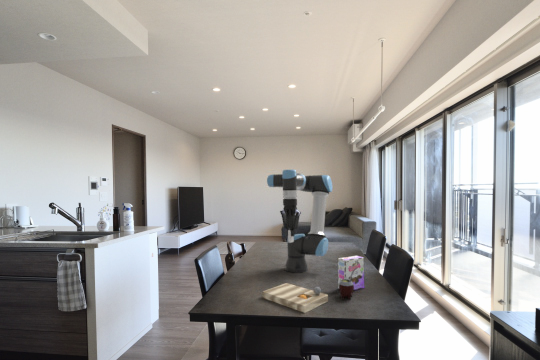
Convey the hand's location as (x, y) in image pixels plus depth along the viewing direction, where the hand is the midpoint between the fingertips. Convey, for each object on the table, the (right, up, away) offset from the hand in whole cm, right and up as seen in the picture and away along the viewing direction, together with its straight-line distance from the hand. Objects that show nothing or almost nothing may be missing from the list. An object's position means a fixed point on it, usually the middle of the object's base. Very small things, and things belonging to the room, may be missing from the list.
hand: (291, 242), depth 155 cm
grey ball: (+11, -19, -18) cm, 29 cm away
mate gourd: (+27, -24, -14) cm, 39 cm away
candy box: (+32, -25, -1) cm, 41 cm away
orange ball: (+4, -22, -20) cm, 30 cm away
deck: (+1, -24, -16) cm, 29 cm away
